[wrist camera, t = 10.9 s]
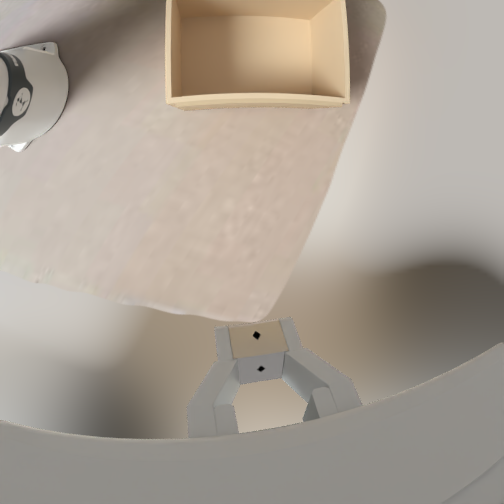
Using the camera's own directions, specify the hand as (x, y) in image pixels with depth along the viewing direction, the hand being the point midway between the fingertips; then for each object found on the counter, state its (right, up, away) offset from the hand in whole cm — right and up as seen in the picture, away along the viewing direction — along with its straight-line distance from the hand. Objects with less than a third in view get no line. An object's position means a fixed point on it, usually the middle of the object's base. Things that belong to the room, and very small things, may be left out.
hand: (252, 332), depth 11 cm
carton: (-1, +31, +24) cm, 39 cm away
